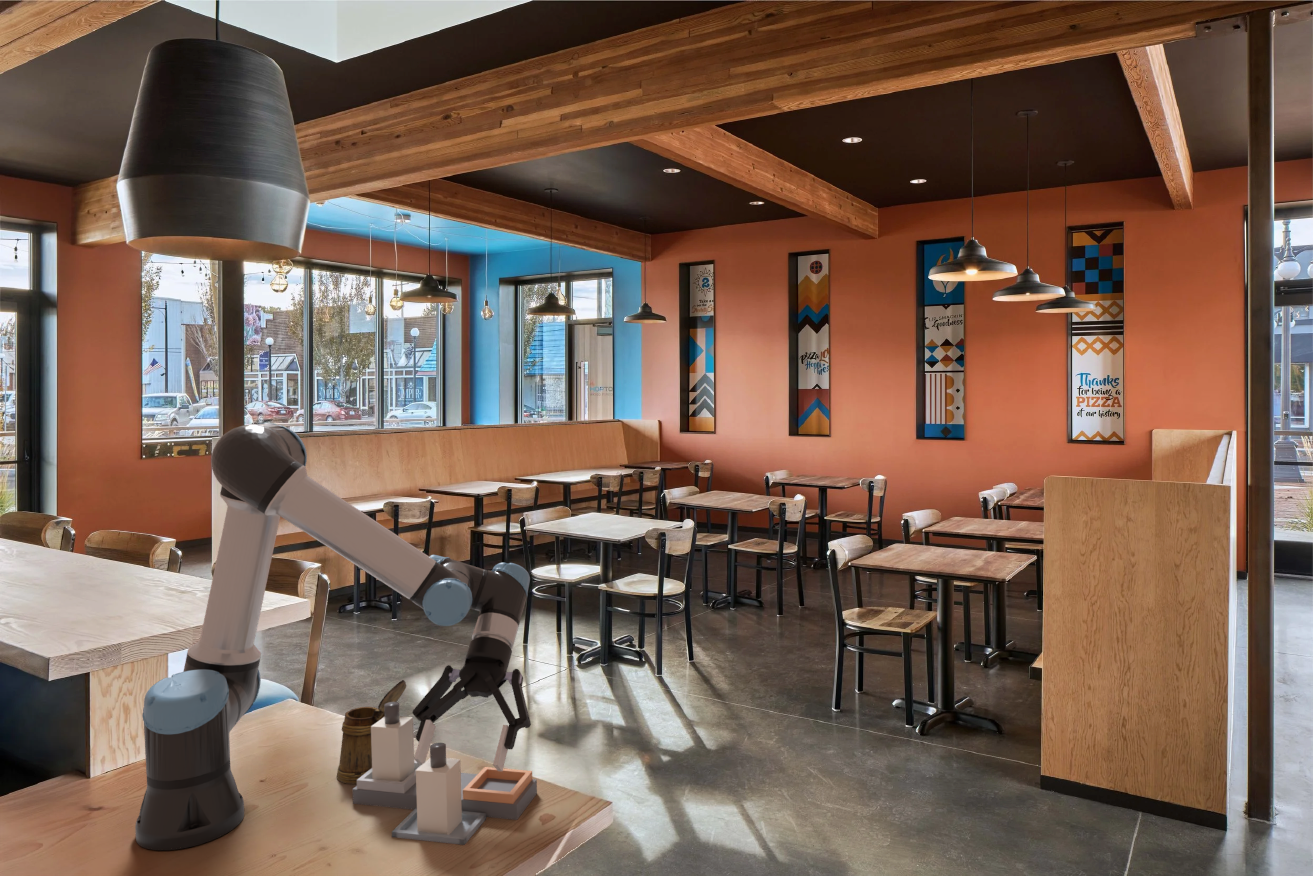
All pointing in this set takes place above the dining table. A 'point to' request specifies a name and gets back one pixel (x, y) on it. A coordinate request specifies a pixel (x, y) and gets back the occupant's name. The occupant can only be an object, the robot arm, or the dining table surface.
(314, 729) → the dining table surface
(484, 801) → the grey base
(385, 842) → the dining table surface
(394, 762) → the twin plug
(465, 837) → the tray
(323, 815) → the dining table surface
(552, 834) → the dining table surface
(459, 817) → the bottle
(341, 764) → the wooden mug
